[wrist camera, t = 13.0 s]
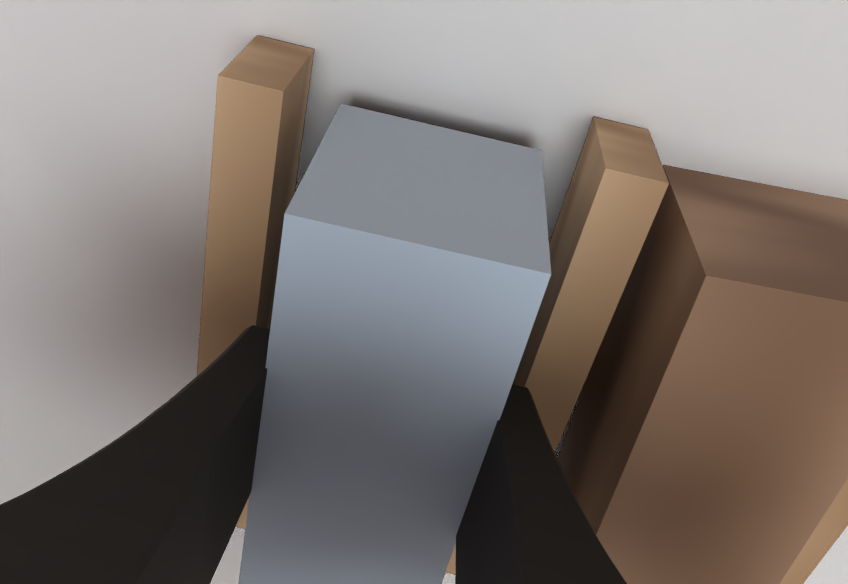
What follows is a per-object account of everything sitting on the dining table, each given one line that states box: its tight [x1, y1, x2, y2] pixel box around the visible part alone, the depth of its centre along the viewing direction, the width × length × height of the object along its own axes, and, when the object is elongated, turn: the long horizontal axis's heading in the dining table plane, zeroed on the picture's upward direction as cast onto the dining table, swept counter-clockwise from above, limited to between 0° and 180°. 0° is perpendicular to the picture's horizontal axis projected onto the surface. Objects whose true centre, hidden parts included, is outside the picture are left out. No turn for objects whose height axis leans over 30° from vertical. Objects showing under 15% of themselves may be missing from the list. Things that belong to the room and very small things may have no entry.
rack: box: [197, 36, 848, 584], centre depth 16 cm, size 13×10×3 cm
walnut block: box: [558, 165, 848, 584], centre depth 15 cm, size 4×8×4 cm, turn 171°
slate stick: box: [239, 104, 551, 584], centre depth 14 cm, size 4×8×4 cm, turn 168°
